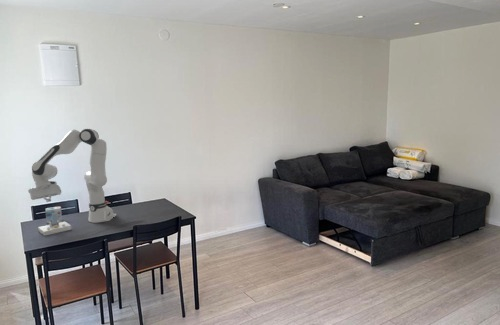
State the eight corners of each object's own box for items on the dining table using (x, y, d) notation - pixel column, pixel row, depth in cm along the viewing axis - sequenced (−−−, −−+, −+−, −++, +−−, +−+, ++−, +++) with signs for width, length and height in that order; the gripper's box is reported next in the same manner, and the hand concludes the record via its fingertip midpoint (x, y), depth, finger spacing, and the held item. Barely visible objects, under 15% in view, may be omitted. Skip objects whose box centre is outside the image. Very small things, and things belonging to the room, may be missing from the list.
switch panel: (38, 231, 260) (37, 222, 259) (65, 225, 272) (64, 217, 271) (44, 235, 251) (43, 227, 250) (71, 229, 263) (70, 221, 262)
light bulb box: (46, 223, 275) (45, 210, 274) (46, 221, 281) (45, 208, 279) (62, 221, 281) (61, 208, 279) (61, 219, 287) (60, 206, 285)
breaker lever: (51, 224, 262) (51, 212, 257) (55, 223, 264) (56, 211, 259) (52, 226, 260) (52, 214, 256) (57, 225, 262) (57, 213, 258)
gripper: (27, 186, 261) (33, 202, 256) (58, 181, 275) (64, 195, 270) (27, 191, 265) (32, 206, 260) (57, 185, 279) (63, 200, 274)
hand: (49, 201), depth 265 cm, fingers closed
